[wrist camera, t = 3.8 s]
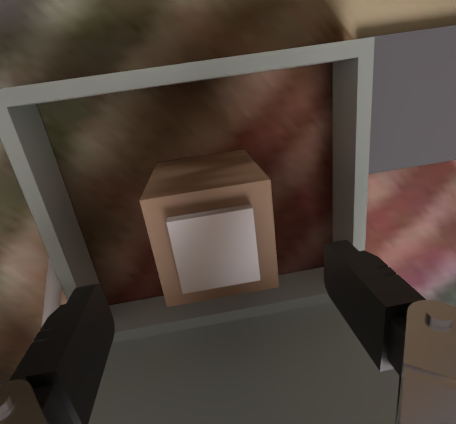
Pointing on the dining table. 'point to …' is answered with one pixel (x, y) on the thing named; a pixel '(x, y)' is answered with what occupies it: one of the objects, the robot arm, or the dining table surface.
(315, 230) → the dining table surface
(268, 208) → the module
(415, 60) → the mat
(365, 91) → the case
